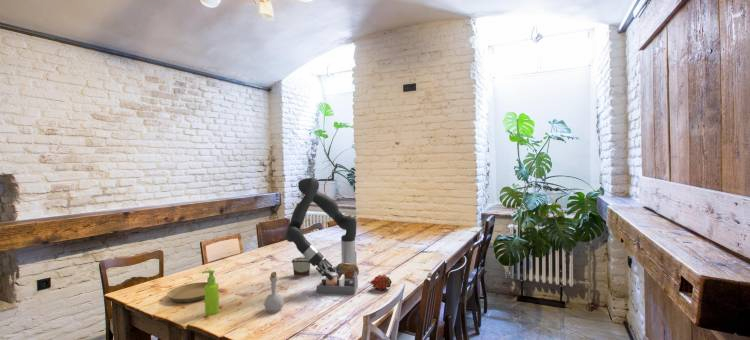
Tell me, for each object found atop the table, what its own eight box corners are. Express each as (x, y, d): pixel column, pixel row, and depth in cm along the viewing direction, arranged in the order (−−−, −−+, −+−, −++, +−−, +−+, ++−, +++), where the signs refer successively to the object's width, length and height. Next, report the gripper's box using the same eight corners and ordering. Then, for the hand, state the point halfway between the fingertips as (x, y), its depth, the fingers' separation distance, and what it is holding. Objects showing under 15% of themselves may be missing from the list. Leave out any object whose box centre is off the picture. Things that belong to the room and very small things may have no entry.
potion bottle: (287, 307, 171) (286, 270, 170) (276, 315, 162) (275, 276, 162) (271, 305, 174) (271, 268, 173) (260, 312, 165) (259, 274, 165)
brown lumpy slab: (335, 276, 216) (335, 262, 215) (338, 274, 218) (338, 261, 218) (357, 279, 209) (356, 265, 208) (359, 278, 211) (359, 264, 211)
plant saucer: (171, 291, 194) (171, 285, 194) (219, 285, 203) (219, 279, 203) (162, 308, 172) (162, 301, 172) (216, 300, 180) (216, 294, 180)
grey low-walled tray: (316, 293, 188) (316, 276, 188) (322, 285, 199) (321, 270, 199) (354, 294, 186) (354, 277, 186) (357, 287, 197) (357, 271, 196)
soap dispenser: (205, 310, 168) (204, 269, 167) (220, 309, 168) (219, 268, 168) (200, 316, 162) (199, 273, 161) (216, 315, 163) (215, 272, 162)
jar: (334, 285, 197) (334, 271, 197) (339, 288, 192) (339, 274, 191) (324, 287, 194) (323, 273, 193) (328, 291, 188) (328, 276, 188)
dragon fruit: (393, 292, 192) (371, 295, 193) (392, 279, 199) (371, 282, 200) (391, 283, 187) (369, 286, 188) (390, 270, 194) (368, 273, 194)
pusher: (339, 290, 188) (339, 279, 188) (342, 285, 196) (342, 274, 196) (341, 290, 188) (341, 279, 188) (344, 285, 196) (344, 274, 196)
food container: (313, 272, 222) (313, 257, 222) (311, 276, 216) (311, 260, 215) (295, 272, 223) (294, 256, 223) (291, 275, 217) (291, 259, 217)
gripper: (314, 254, 186) (335, 276, 185) (321, 247, 200) (341, 268, 199) (304, 264, 186) (325, 286, 186) (312, 256, 201) (332, 277, 200)
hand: (333, 276), depth 192 cm, fingers open, 8 cm apart
